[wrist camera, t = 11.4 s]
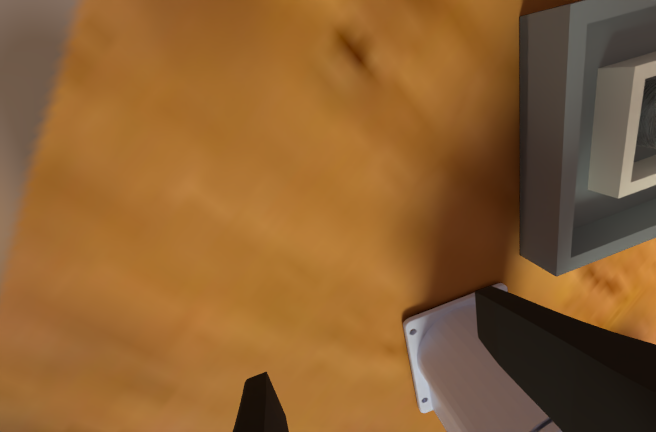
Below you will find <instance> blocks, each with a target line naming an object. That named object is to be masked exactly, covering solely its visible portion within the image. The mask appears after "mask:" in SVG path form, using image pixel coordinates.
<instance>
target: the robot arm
mask: <svg viewBox="0 0 656 432" xmlns="http://www.w3.org/2000/svg"><path fill="white" fill-rule="evenodd" d="M403 328H404V333H405V339H406V344H407V349H408V355H409V360H410V365H411V371H412V376H413V382H414V387H415V392H416V398H417V403H418V408H419V410H420V411H421V412H422V413H427V412H429V411H432V410H434V411H435V413H436V415H437V416H438V418H439V420H440V421H441V423H442V424H443V426H444V428H445V429H446V431H447V432H656V345H655V344H652V343H648V342H645V341H641V340H638V339H634V338H631V337H627V336H624V335H621V334H618V333H614V332H611V331H608V330H605V329H602V328H600V327H597V326H594V325H591V324H588V323H585V322H582V321H579V320H577V319H574V318H571V317H569V316H566V315H563V314H561V313H558V312H556V311H553V310H550V309H548V308H545V307H543V306H540V305H538V304H536V303H533V302H531V301H528V300H526V299H523V298H521V297H518V296H516V295H514V294H511V293H509V292H508V289H507V286H506V285H504V284H503V283H498V284H495V285H493V286H488V287H486V288H483V289H480V290H478V291H475V292H474V293H472V294H469V295H467V296H464V297H461V298H459V299H456V300H454V301H451V302H448V303H446V304H443V305H441V306H438V307H435V308H433V309H430V310H428V311H425V312H422V313H420V314H417V315H415V316H412V317H409V318H407V319H406V320H405V321H404V323H403ZM412 329H413V330H412ZM411 330H412V331H411ZM233 432H289V431H288V426H287V421H286V416H285V413H284V411H283V409H282V406H281V404H280V402H279V399H278V397H277V395H276V392H275V390H274V388H273V386H272V383H271V381H270V379H269V376H268V374H267V372H264V373H262V374H259V375H257V376H254V377H251V378H249V379H247V380H246V382H245V384H244V389H243V394H242V398H241V403H240V407H239V411H238V415H237V418H236V422H235V426H234V429H233Z"/></svg>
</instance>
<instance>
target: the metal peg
mask: <svg viewBox="0 0 656 432" xmlns="http://www.w3.org/2000/svg"><path fill="white" fill-rule="evenodd" d="M636 146H641V147H647V148H653V149H656V79H650V80H647V81H645V85H644V92H643V99H642V106H641V113H640V120H639V127H638V134H637V141H636Z"/></svg>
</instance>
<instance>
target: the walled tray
mask: <svg viewBox="0 0 656 432" xmlns="http://www.w3.org/2000/svg"><path fill="white" fill-rule="evenodd" d="M650 79H656V0H581V1H578V2H574V3H570V4H566V5H562V6H558V7H555V8H551V9H547V10H543V11H539V12H536V13H532V14H528V15H524V16H520V255H521V256H523V257H524V258H526V259H528V260H529V261H531V262H533V263H534V264H536V265H538V266H539V267H541V268H543V269H544V270H546V271H548V272H549V273H551V274H553V275H555V276H559V275H561V274H564V273H567V272H569V271H572V270H574V269H577V268H579V267H582V266H584V265H587V264H589V263H592V262H595V261H597V260H600V259H602V258H605V257H607V256H610V255H612V254H615V253H618V252H620V251H623V250H625V249H628V248H630V247H633V246H635V245H638V244H640V243H643V242H646V241H648V240H651V239H653V238H656V149H653V148H647V147H641V146H636V141H637V134H638V127H639V120H640V113H641V106H642V99H643V92H644V85H645V81H647V80H650Z"/></svg>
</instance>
